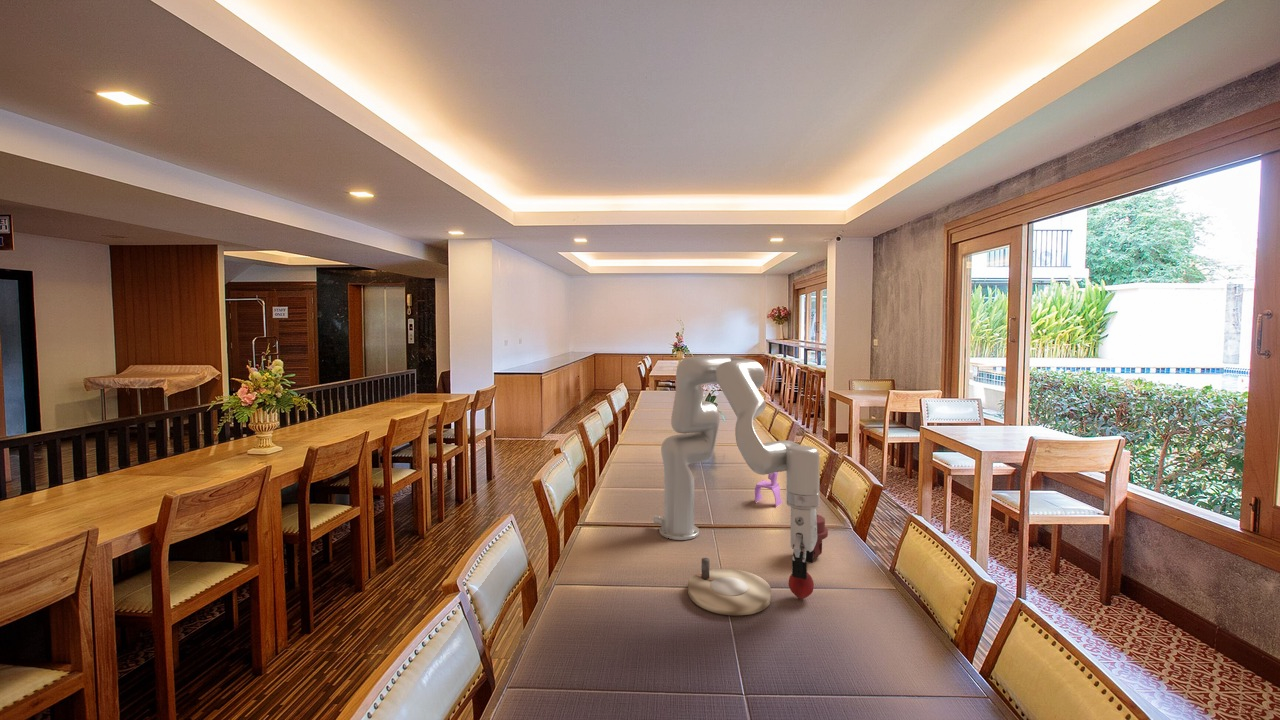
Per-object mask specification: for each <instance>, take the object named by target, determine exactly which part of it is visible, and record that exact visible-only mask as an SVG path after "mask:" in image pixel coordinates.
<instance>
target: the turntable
mask: <svg viewBox="0 0 1280 720" xmlns="http://www.w3.org/2000/svg"><path fill="white" fill-rule="evenodd" d="M710 561H711V560H710V558H708V557H702V558H701V571H700V572H698V573H696V574H694V575H693V576H692V577H690V578H689V580H688V583H687V593H688V596H689V598H690V600H691V601H692V602H693V603H694V604H695V605H696V606H698V607H700V608H702V609H704V610H706V611H708V612H712V613H714V614H718V615H725V616H747V615H753V614H757V613H759V612H762V611H763V610H765V609H767V607H769V605H770V604H771V602H772V588H771V586H770V584H769V583H768V582H767V581H766V580H765V579H764V578H762V577H760V576H759V575H756V574H754V573H752V572H748V571H745V570H741V569H737V568H736V569H735V568H712V569H711V568H710Z"/></svg>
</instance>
